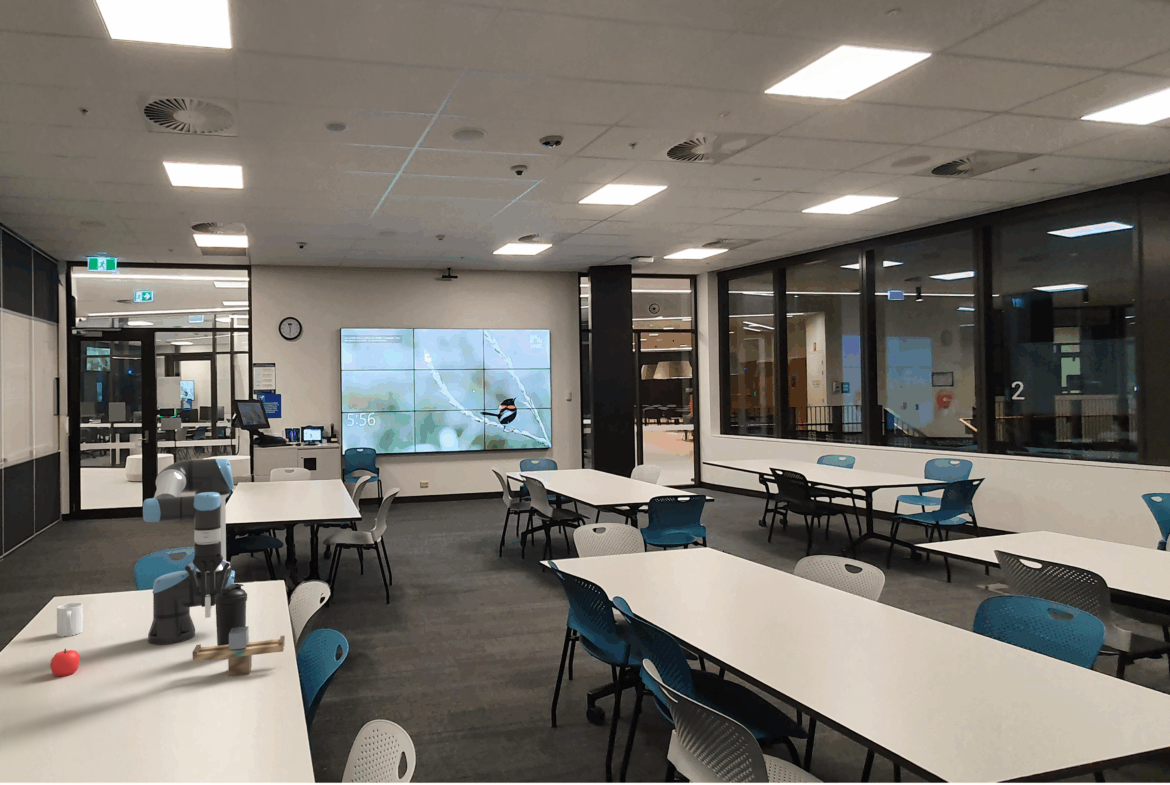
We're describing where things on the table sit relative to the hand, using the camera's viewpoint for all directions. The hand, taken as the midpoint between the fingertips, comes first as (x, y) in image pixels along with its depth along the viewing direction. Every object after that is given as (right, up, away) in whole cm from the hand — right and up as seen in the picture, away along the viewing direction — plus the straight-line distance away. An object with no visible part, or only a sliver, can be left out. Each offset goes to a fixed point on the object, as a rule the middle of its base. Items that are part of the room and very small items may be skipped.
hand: (208, 616), depth 235 cm
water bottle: (-2, -19, +20) cm, 27 cm away
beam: (+9, -18, +2) cm, 21 cm away
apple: (-47, -19, +3) cm, 51 cm away
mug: (-73, -20, +41) cm, 86 cm away
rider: (+9, -12, +2) cm, 15 cm away
